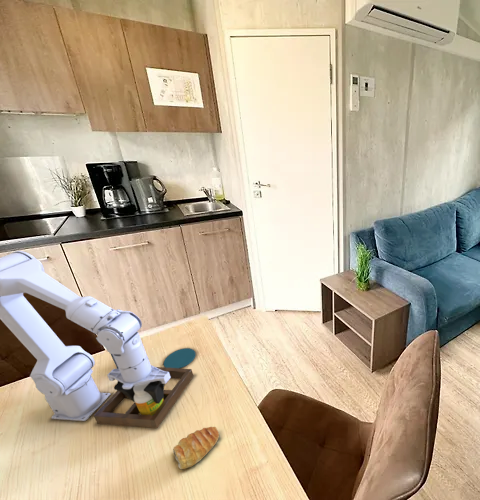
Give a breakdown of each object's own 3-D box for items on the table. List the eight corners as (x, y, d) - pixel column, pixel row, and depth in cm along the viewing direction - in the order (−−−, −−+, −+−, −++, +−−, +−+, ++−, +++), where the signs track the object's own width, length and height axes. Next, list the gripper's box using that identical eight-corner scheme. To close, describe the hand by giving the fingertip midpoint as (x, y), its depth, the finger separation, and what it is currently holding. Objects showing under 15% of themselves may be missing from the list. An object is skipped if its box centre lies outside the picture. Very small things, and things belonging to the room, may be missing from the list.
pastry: (212, 424, 72) (209, 414, 70) (225, 443, 68) (222, 432, 66) (171, 454, 65) (167, 443, 64) (183, 476, 61) (179, 466, 60)
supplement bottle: (154, 422, 72) (142, 395, 68) (137, 418, 73) (124, 392, 69) (170, 403, 77) (160, 377, 73) (154, 400, 78) (142, 374, 74)
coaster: (157, 369, 88) (157, 368, 88) (175, 348, 96) (175, 347, 96) (185, 370, 87) (185, 370, 87) (201, 349, 96) (200, 348, 95)
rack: (97, 423, 72) (92, 415, 71) (143, 373, 86) (140, 365, 85) (157, 428, 71) (154, 420, 70) (193, 376, 86) (191, 368, 84)
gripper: (88, 371, 64) (109, 412, 70) (149, 375, 64) (165, 415, 69) (114, 349, 71) (131, 387, 76) (169, 351, 70) (182, 390, 76)
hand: (148, 399), depth 73 cm, fingers closed on supplement bottle, 5 cm apart
